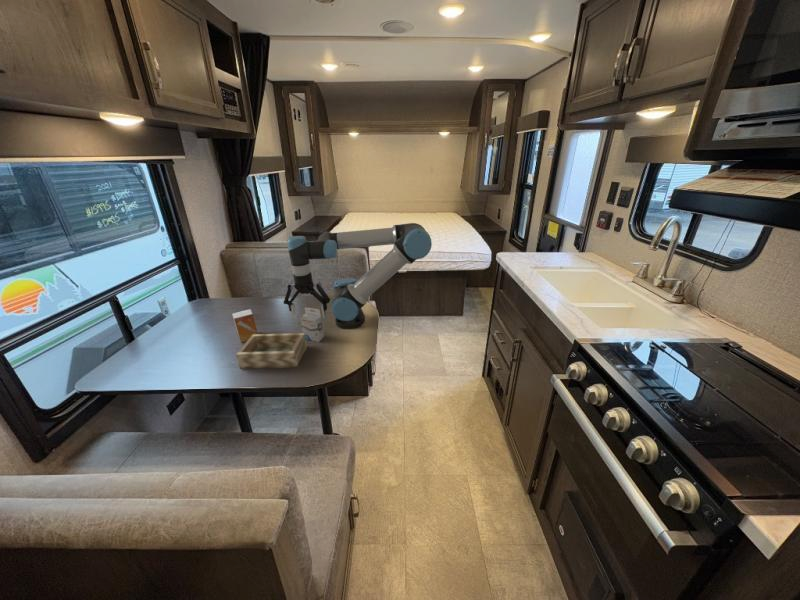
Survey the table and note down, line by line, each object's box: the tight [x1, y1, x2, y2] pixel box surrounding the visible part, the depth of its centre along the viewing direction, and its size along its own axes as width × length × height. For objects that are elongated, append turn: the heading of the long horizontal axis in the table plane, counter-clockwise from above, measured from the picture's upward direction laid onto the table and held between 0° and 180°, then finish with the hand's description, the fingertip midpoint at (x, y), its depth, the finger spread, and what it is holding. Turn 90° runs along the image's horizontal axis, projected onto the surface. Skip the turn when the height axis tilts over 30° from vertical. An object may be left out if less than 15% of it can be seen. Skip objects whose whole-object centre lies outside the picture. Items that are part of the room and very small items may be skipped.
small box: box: [231, 308, 259, 344], centre depth 144 cm, size 8×6×13 cm
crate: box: [235, 332, 308, 370], centre depth 130 cm, size 23×15×7 cm, turn 90°
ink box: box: [299, 307, 325, 343], centre depth 141 cm, size 9×5×15 cm, turn 71°
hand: (309, 316), depth 139 cm, fingers open, 13 cm apart
